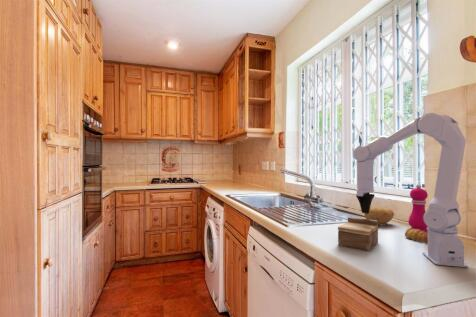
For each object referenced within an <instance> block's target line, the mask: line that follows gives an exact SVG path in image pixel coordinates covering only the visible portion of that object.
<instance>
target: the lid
mask: <svg viewBox="0 0 476 317" xmlns="http://www.w3.org/2000/svg"><path fill="white" fill-rule="evenodd" d="M376 229H378V230H379V225H378V221H377V220H370V219H366V218H361V217H360V218H359V217H356V216H355V217H353V216H348V217H347V222H344V223H343V224H341V225H340V226H337V232H338V231H344V232H350V233H356V234H361V235H367V236H369V235H370V234H371V233H373V232H374V231H375V230H376Z"/></svg>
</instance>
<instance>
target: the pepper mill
mask: <svg viewBox="0 0 476 317" xmlns="http://www.w3.org/2000/svg"><path fill="white" fill-rule="evenodd" d="M415 187H416V188H415ZM415 187H414V188H412V189H411V190H410V192H409V197H410V198H411V204H412V210H411V212H410V215H409V216H408V225H409V226H410V228H414V229H419V230H422V231H424V232H426V233H428V226H427V225H426V224H425V222H424V219H423V217H424V214H425V212H426V205H427V200H426V199H427V198H428V197H429V196H428V195H429V194H428V191H427V190H426V189H424V188H422V185H421V184H419V183H418V184H416V185H415Z"/></svg>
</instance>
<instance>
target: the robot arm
mask: <svg viewBox="0 0 476 317" xmlns="http://www.w3.org/2000/svg"><path fill="white" fill-rule="evenodd" d="M461 130H462V129H461V128H460V127H459V122H458V121H457V120H455V119H453V117H451V116H449V115H446V114H437V113H434V112H428V113H425V114H423V115H421V116H419V117H416V118H415V119H413V120H412V121H411V122H409V123H407V124H405V125H404V126H403V127H401V128H400V129H397V130H396V131H394V132H393V133H391V134H390V135H388V136H387V135H377V136H376V137H375V139H374V140H372V141H370V142H366V143H365V145H358V146H357V147H356V148H354V150H353V158H354V159H355V161H356V188H353V191H356V194H355V196H356V199H357V201H358V202H359V207H360V210H361V213H362V214H364V213H367V214H368V213H369V210H370V208H371V205H372V202H373V200H374V197H375V194H374V193H373V192H375V189H374V186H375V185H374V164H375V160H376V158H377V157H379V156H380V155H382V154H384V153H386V152H389V151H390V150H392V149H393V146H394V145H395V144H398V143H399V142H402V141H403V140H406V139H409V138H410V137H412V136H415V135H427V136H429V137H430V138H433V139H434V140H435V141H437V143H438V144H439V145H441V150H440V156H439V163H438V169H437V175H436V181H435V188H434V194H433V198H432V199H431V201H430V202H429V204H428V208H427V209H426V210H425V214H424V217H423V219H424V222H425V224H426V225H427V226H428V228H427V230H428V243H427V251H422V254H423V255H424V256H425V258H427V259H429V261H430V262H432V263H433V264H434V265H438V266H448V267H449V266H451V267H463V268H468V267H469V265H468V264H466V263H465V244H464V242H463V241H462V239H461V238H459V234H458V233H459V230H458V227H457V226H458V225H459V224H460V223H461V220H462V216H461V213H460V211H459V210H460V204H459V202H458V201H457V196H458V190H459V185H460V179H461V178H460V177H461V173H462V166H463V161H464V160H463V159H464V156H465V155H464V154H465V147H466V144H467V143H466V138H465V136H464V134H463V132H462V131H461Z"/></svg>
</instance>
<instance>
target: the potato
mask: <svg viewBox="0 0 476 317" xmlns="http://www.w3.org/2000/svg"><path fill="white" fill-rule="evenodd" d="M363 214H364V219H370V220H377V221H378V226H384V225H386V224H388V223H389V222H390V221H391V220H393V218H394V216H395V214H394V211H393V210H392V209H391V208H389V207H381V206H380V207H379V206H378V207H377V206H376V207H370V210H369V213H368V214H367V213H363Z"/></svg>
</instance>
